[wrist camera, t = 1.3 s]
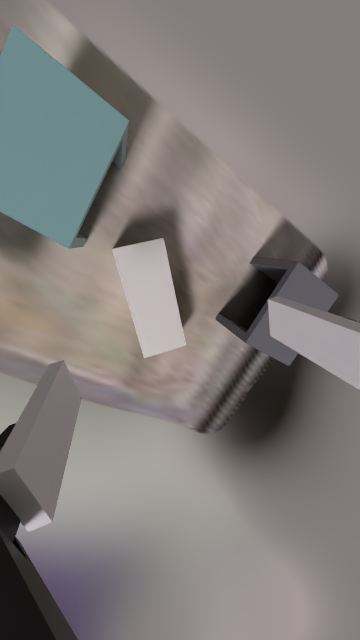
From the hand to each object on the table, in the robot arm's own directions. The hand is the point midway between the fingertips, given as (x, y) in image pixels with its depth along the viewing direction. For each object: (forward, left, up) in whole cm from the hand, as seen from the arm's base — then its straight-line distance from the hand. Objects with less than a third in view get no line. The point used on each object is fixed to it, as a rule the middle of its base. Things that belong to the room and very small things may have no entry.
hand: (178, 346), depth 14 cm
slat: (0, 0, -14) cm, 14 cm away
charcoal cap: (+4, +14, -14) cm, 20 cm away
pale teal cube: (-13, -5, -14) cm, 20 cm away
